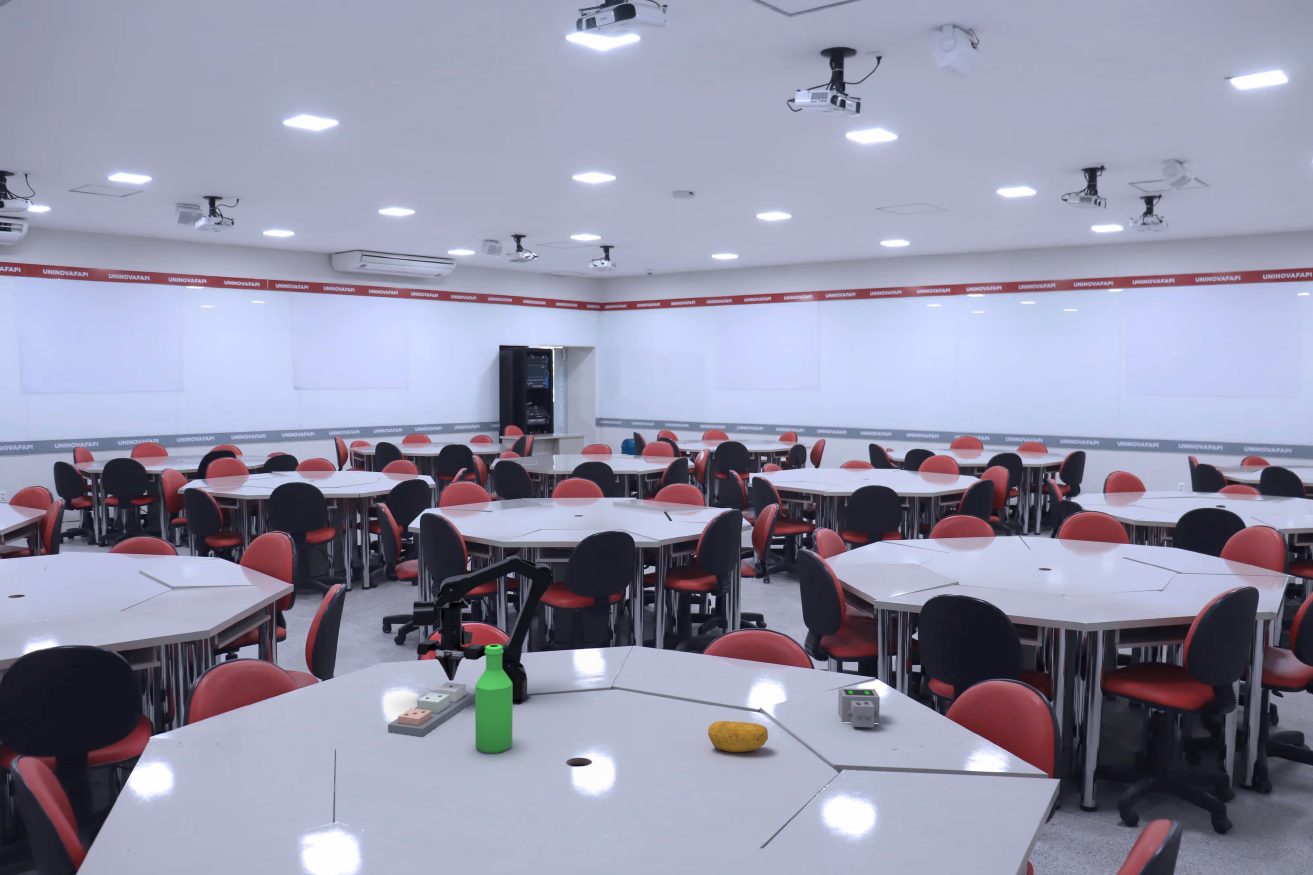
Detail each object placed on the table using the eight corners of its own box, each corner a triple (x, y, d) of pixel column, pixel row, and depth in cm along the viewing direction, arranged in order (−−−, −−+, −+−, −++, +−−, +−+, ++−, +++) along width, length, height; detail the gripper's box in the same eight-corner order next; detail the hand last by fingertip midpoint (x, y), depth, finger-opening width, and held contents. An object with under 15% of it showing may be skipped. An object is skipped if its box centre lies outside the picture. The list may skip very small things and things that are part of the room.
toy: (845, 703, 220) (836, 683, 235) (845, 732, 220) (836, 711, 235) (883, 703, 220) (872, 684, 235) (883, 733, 220) (872, 712, 235)
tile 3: (431, 722, 222) (431, 710, 222) (418, 730, 217) (418, 718, 217) (411, 719, 224) (411, 707, 224) (398, 727, 218) (398, 715, 218)
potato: (767, 759, 203) (767, 729, 203) (706, 754, 205) (706, 725, 205) (768, 747, 210) (768, 718, 210) (709, 742, 212) (709, 714, 212)
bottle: (468, 750, 207) (467, 647, 206) (491, 737, 214) (491, 638, 213) (497, 757, 203) (497, 652, 202) (519, 744, 210) (519, 643, 209)
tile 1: (466, 694, 240) (466, 683, 240) (455, 702, 234) (455, 690, 234) (447, 692, 241) (447, 681, 241) (435, 699, 236) (435, 688, 235)
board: (475, 700, 241) (475, 693, 241) (422, 736, 215) (422, 728, 215) (443, 697, 243) (443, 690, 243) (387, 731, 218) (387, 724, 218)
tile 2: (449, 705, 231) (449, 694, 231) (437, 713, 225) (437, 701, 225) (429, 703, 233) (429, 692, 233) (417, 710, 227) (417, 699, 227)
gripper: (495, 619, 242) (495, 674, 243) (436, 614, 247) (437, 668, 248) (476, 629, 231) (476, 686, 232) (415, 624, 237) (415, 680, 237)
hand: (451, 679), depth 237 cm, fingers closed
